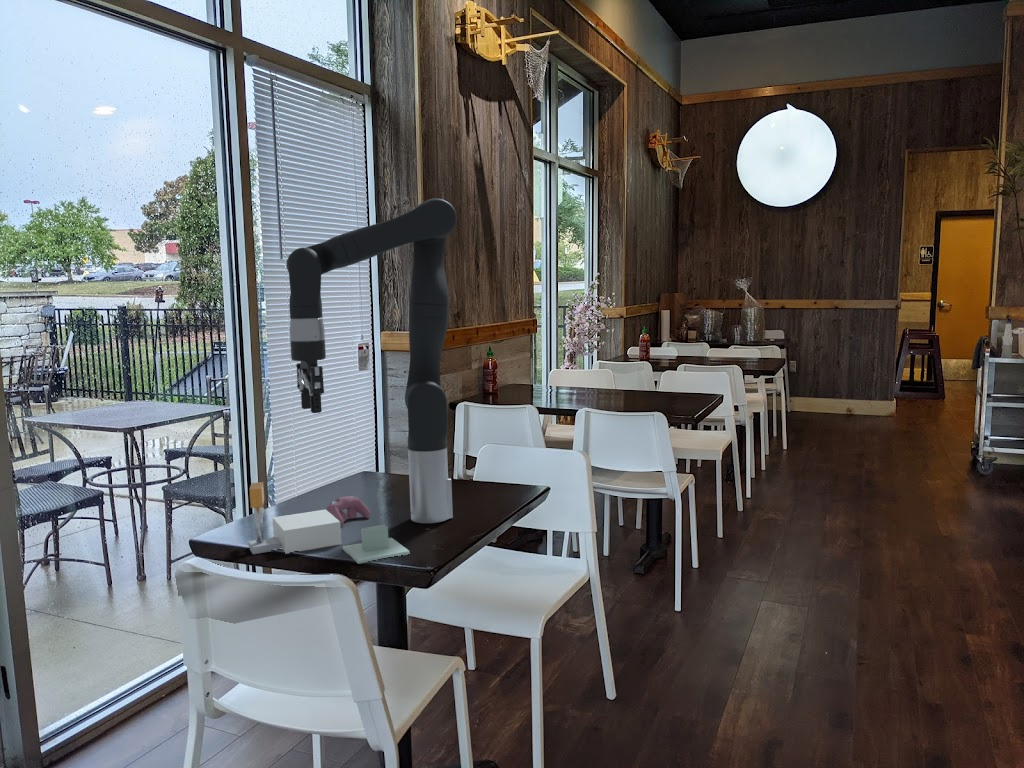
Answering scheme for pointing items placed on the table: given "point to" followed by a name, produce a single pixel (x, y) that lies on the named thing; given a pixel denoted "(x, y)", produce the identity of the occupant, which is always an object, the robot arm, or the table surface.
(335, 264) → the robot arm
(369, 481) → the table surface
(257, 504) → the t key
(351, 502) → the pink animal figurine
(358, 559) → the cover
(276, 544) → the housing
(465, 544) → the table surface
